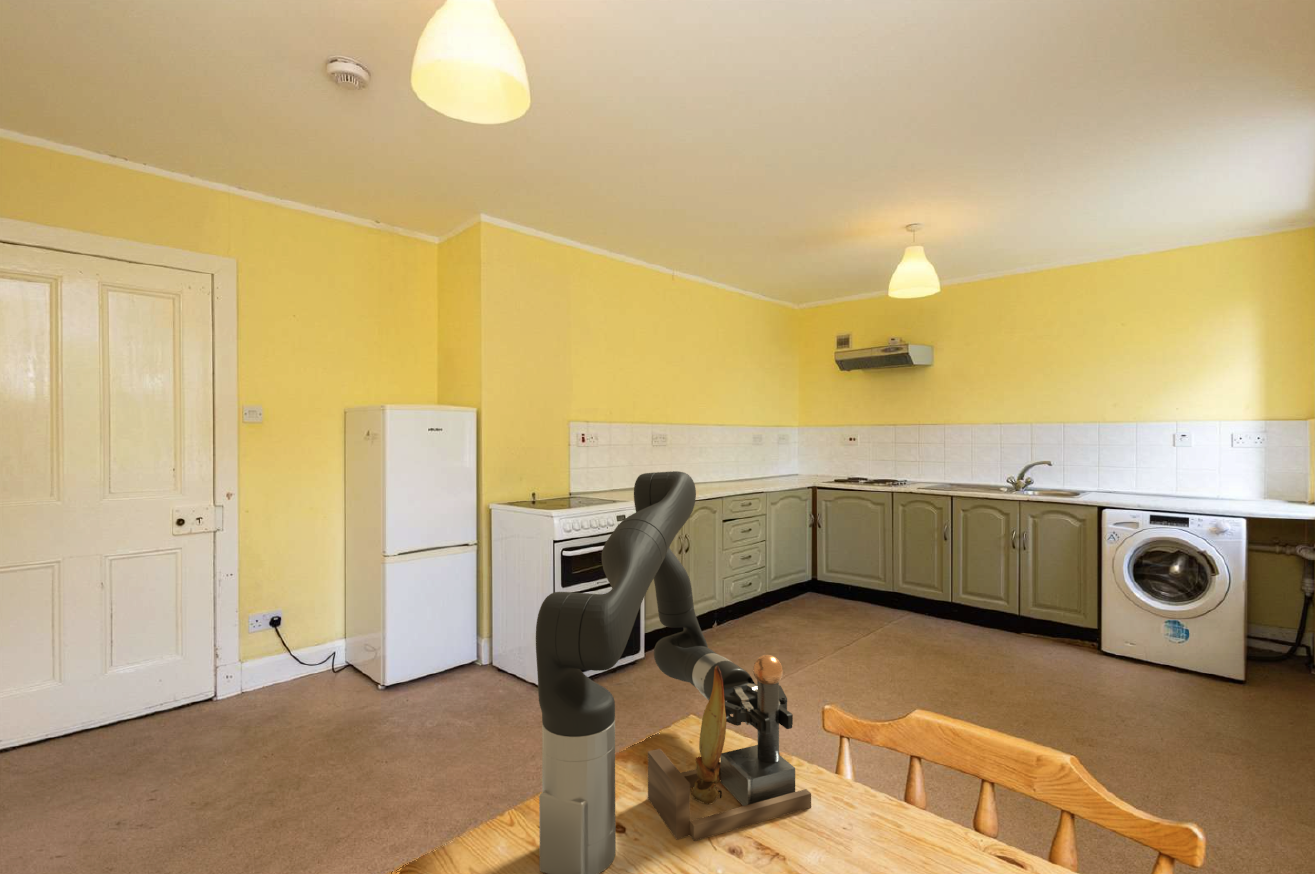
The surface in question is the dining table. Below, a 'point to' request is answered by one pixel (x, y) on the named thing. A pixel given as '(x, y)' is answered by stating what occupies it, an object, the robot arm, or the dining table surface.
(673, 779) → the frame
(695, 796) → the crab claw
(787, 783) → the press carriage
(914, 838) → the dining table surface
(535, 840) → the dining table surface
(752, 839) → the dining table surface
